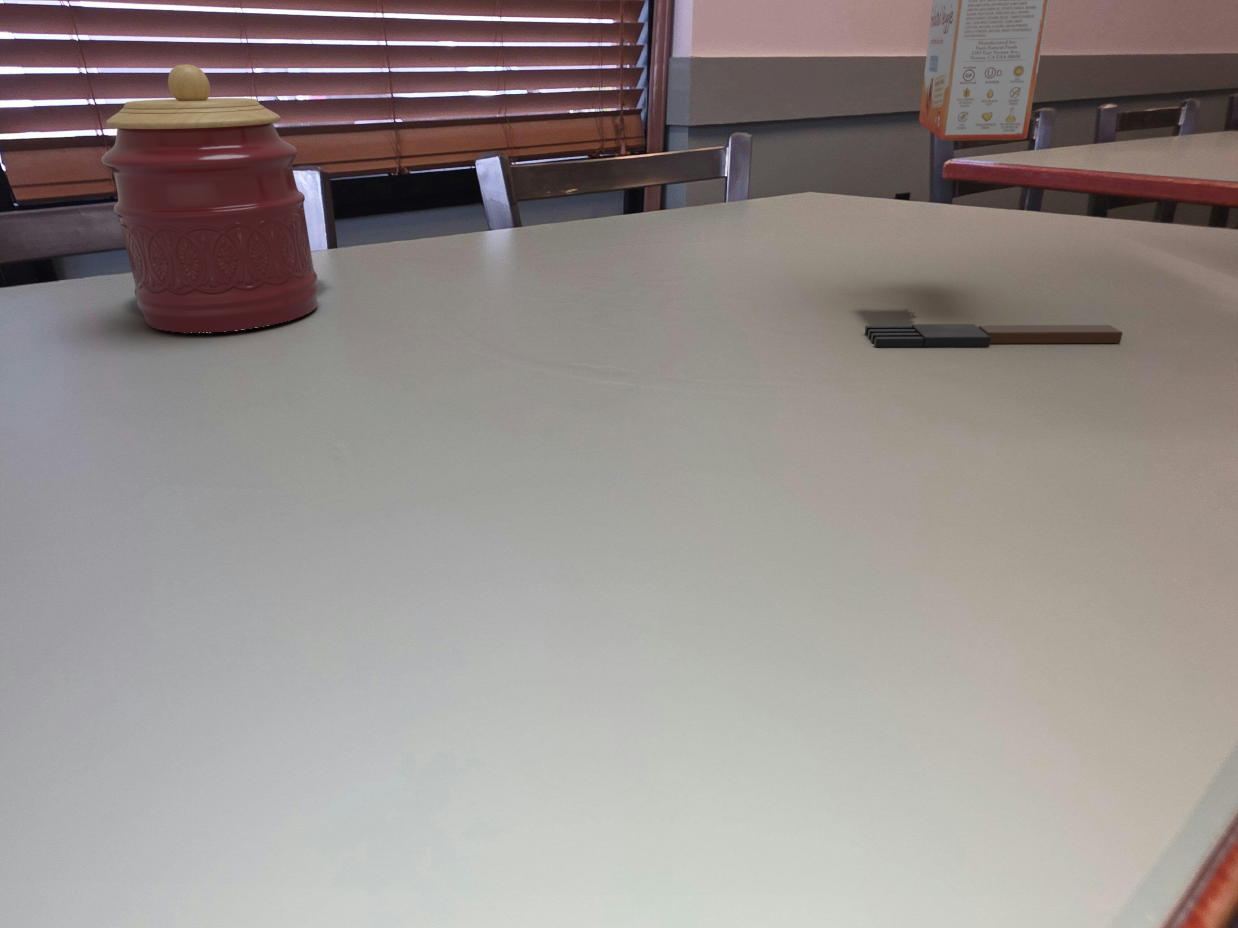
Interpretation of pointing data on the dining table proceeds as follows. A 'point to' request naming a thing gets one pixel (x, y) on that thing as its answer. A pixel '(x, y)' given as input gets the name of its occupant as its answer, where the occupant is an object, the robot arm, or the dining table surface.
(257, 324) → the kitchen canister
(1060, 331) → the fork
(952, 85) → the cracker box
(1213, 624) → the dining table surface
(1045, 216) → the dining table surface
